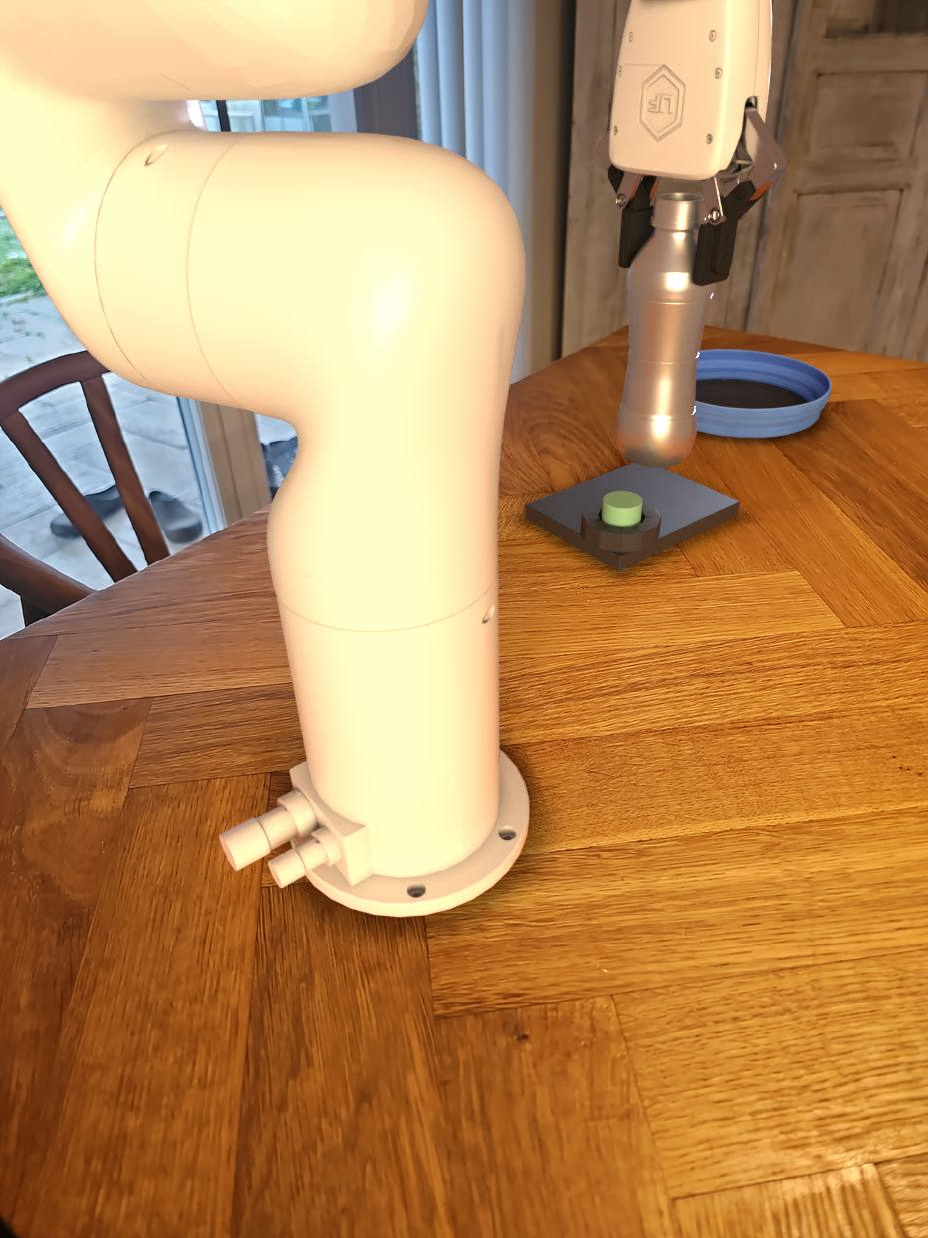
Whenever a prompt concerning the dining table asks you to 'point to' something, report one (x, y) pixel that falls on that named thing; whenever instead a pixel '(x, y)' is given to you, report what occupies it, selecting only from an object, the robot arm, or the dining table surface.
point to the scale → (665, 516)
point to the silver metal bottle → (664, 337)
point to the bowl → (757, 394)
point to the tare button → (622, 509)
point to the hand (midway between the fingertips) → (671, 271)
